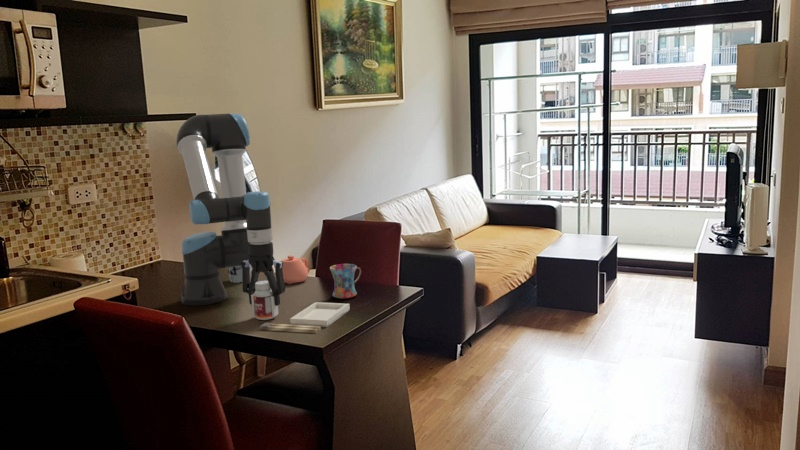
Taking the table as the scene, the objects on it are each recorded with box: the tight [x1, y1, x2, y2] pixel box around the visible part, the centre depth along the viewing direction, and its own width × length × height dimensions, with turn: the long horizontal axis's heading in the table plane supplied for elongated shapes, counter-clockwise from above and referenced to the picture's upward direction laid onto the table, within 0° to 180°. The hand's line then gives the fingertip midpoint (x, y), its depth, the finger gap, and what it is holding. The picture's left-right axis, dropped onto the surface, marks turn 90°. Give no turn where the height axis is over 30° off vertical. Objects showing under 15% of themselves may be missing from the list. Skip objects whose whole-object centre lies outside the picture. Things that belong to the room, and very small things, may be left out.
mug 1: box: [226, 265, 252, 284], centre depth 255 cm, size 10×15×10 cm
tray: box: [289, 301, 351, 328], centre depth 201 cm, size 12×18×2 cm, turn 163°
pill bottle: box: [254, 280, 275, 321], centre depth 202 cm, size 6×6×11 cm
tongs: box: [259, 322, 322, 334], centre depth 190 cm, size 18×3×1 cm, turn 73°
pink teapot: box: [281, 255, 310, 286], centre depth 249 cm, size 12×14×10 cm
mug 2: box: [329, 263, 362, 299], centre depth 224 cm, size 12×9×11 cm
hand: (265, 314), depth 202 cm, fingers closed on pill bottle, 6 cm apart
